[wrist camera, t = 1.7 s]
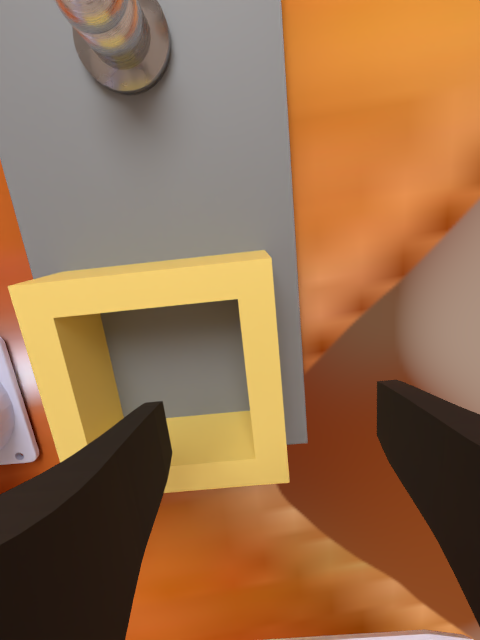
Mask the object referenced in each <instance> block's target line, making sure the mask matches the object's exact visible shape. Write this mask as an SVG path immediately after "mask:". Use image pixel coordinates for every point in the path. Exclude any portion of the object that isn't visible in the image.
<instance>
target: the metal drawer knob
mask: <svg viewBox="0 0 480 640" xmlns="http://www.w3.org/2000/svg"><path fill="white" fill-rule="evenodd" d="M55 2H56V4H57V6H58V8H59V10H60V11H61V13H62V14H63V16H64V17H65V18H66V19H67V21H68V22H69V23H70V24H71V25H72V31H73V40H74V44H75V48H76V51H77V53H78V56H79V58H80V60H81V62H82V63H83V65H84V66H85V68H86V69H87V70H88V72H89V73H90V74H91V75H92V76H93V77H94V78H95V79H96V80H97V81H98V82H99V83H100V84H101V85H103V86H104V87H105V88H107V89H109V90H111V91H113V92H115V93H118V94H122V95H137V94H141V93H143V92H146V91H148V90H149V89H151V88H152V87H154V86H155V85H156V84H157V83H158V82H159V81H160V79H161V78H162V77H163V75H164V73H165V71H166V69H167V67H168V64H169V60H170V56H171V35H170V30H169V27H168V23H167V21H166V18H165V15H164V13H163V11H162V8H161V6H160V4H159V3H158V1H157V0H55Z"/></svg>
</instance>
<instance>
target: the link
mask: <svg viewBox="0 0 480 640" xmlns="http://www.w3.org/2000/svg"><path fill="white" fill-rule="evenodd" d="M8 289H9V292H10V296H11V299H12V302H13V306H14V309H15V313H16V316H17V319H18V323H19V326H20V329H21V333H22V336H23V339H24V343H25V346H26V349H27V353H28V356H29V359H30V363H31V366H32V369H33V373H34V376H35V379H36V383H37V386H38V389H39V393H40V396H41V400H42V403H43V406H44V410H45V413H46V416H47V420H48V423H49V426H50V430H51V433H52V436H53V440H54V443H55V446H56V450H57V453H58V456H59V460H60V462H62V461H64V460H65V459H67V458H69V457H70V456H72V455H73V454H75V453H76V452H78V451H79V450H81V449H82V448H84V447H85V446H86V445H88V444H89V443H91V442H92V441H93V440H95V439H96V438H98V437H99V436H101V435H102V434H103V433H105V432H106V431H107V430H109V429H110V428H111V427H113V426H114V425H115V424H117V423H118V422H119V421H120V420H122V419H123V418H124V416H123V412H122V407H121V403H120V399H119V394H118V390H117V386H116V381H115V377H114V372H113V368H112V364H111V359H110V355H109V350H108V346H107V342H106V337H105V333H104V329H103V324H102V320H101V315H100V313H107V312H117V311H126V310H136V309H146V308H155V307H165V306H175V305H184V304H194V303H204V302H213V301H223V300H233V299H238V305H239V314H240V323H241V332H242V341H243V351H244V360H245V369H246V378H247V387H248V396H249V405H250V411H239V412H228V413H217V414H207V415H196V416H185V417H174V418H166V421H167V426H168V431H169V437H170V442H171V447H172V452H173V453H172V458H171V464H170V470H169V475H168V480H167V483H166V487H165V490H164V493H169V492H181V491H193V490H205V489H217V488H229V487H241V486H253V485H266V484H278V483H289V470H288V457H287V444H286V432H285V420H284V407H283V395H282V382H281V370H280V357H279V345H278V332H277V320H276V307H275V295H274V282H273V270H272V258H271V257H270V256H269V254H268V253H267V252H266V251H265V250H259V251H250V252H240V253H231V254H222V255H213V256H203V257H194V258H185V259H176V260H166V261H157V262H148V263H139V264H129V265H120V266H111V267H101V268H92V269H83V270H74V271H64V272H59V273H56V274H52V275H48V276H44V277H41V278H37V279H33V280H29V281H26V282H22V283H18V284H14V285H11V286H8Z"/></svg>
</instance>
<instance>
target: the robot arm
mask: <svg viewBox="0 0 480 640" xmlns="http://www.w3.org/2000/svg"><path fill="white" fill-rule="evenodd" d="M377 436H378V438H379V441H380V443H381V446H382V448H383V450H384V452H385V454H386V457H387V459H388V461H389V463H390V464H391V466H392V468H393V469H394V471H395V473H396V474H397V476H398V477H399V479H400V481H401V482H402V484H403V486H404V487H405V489H406V490H407V492H408V493H409V495H410V496H411V498H412V499H413V501H414V503H415V505H416V506H417V508H418V509H419V511H420V512H421V514H422V516H423V517H424V519H425V520H426V522H427V524H428V525H429V527H430V529H431V530H432V532H433V533H434V535H435V537H436V539H437V541H438V542H439V544H440V546H441V548H442V550H443V552H444V554H445V556H446V558H447V560H448V562H449V564H450V566H451V568H452V570H453V572H454V574H455V576H456V578H457V580H458V582H459V584H460V586H461V588H462V590H463V593H464V595H465V597H466V599H467V601H468V603H469V605H470V607H471V609H472V611H473V613H474V615H475V618H476V620H477V622H478V624H479V626H480V415H479V414H477V413H474V412H472V411H469V410H467V409H464V408H462V407H459V406H457V405H455V404H452V403H450V402H448V401H445V400H443V399H441V398H438V397H436V396H434V395H432V394H430V393H427V392H425V391H423V390H421V389H418V388H416V387H414V386H411V385H409V384H406V383H404V382H401V381H398V380H388V381H378V382H377ZM20 453H21V454H23V456H22V455H21V454H20ZM172 453H173V452H172V447H171V442H170V437H169V431H168V426H167V421H166V415H165V410H164V405H163V401H157V402H146V403H144V404H142V405H140V406H139V407H138V408H136V409H135V410H134V411H132V412H131V413H130V414H128V415H127V416H126V417H124V418H123V419H122V420H120V421H119V422H118V423H117V424H115V425H114V426H113V427H111V428H110V429H109V430H107V431H106V432H105V433H103V434H102V435H101V436H99V437H98V438H96V439H95V440H93V441H92V442H91V443H89V444H88V445H86V446H85V447H84V448H82V449H81V450H79V451H78V452H76V453H75V454H73V455H72V456H70V457H69V458H67V459H65V460H64V461H62V462H60V463H59V464H57V465H55V466H54V467H52V468H50V469H49V470H47V471H45V472H43V473H42V474H40V475H38V476H36V477H34V478H32V479H30V480H28V481H26V482H24V483H22V484H20V485H18V486H16V487H14V488H12V489H10V490H8V491H7V492H5V493H2V494H0V640H125V637H126V632H127V627H128V623H129V618H130V613H131V608H132V603H133V598H134V594H135V589H136V585H137V580H138V576H139V571H140V567H141V563H142V559H143V556H144V552H145V548H146V545H147V542H148V539H149V536H150V533H151V530H152V527H153V524H154V521H155V518H156V515H157V512H158V509H159V506H160V502H161V499H162V496H163V493H164V490H165V487H166V483H167V480H168V475H169V470H170V464H171V458H172ZM38 456H39V449H38V446H37V443H36V440H35V436H34V433H33V430H32V427H31V424H30V421H29V417H28V414H27V411H26V408H25V405H24V402H23V398H22V395H21V392H20V389H19V386H18V383H17V379H16V376H15V373H14V370H13V367H12V364H11V360H10V357H9V354H8V351H7V348H6V345H5V342H4V340H3V339H2V338H1V337H0V465H5V464H17V463H28V462H33V461H34V460H36V459H37V457H38ZM266 640H474V639H471V638H469V637H467V636H465V635H461V634H454V633H446V632H438V631H430V630H412V631H396V632H380V633H364V634H348V635H331V636H315V637H299V638H283V639H266Z"/></svg>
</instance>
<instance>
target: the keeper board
mask: <svg viewBox="0 0 480 640" xmlns="http://www.w3.org/2000/svg"><path fill="white" fill-rule="evenodd" d="M157 1H158V3H159V4H160V6H161V8H162V11H163V13H164V15H165V18H166V21H167V23H168V27H169V30H170V35H171V56H170V60H169V64H168V67H167V69H166V71H165V73H164V75H163V77H162V78H161V79H160V81H159V82H158V83H157V84H156V85H155V86H154V87H152V88H151V89H149V90H148V91H146V92H143V93H141V94H137V95H122V94H118V93H115V92H113V91H111V90H109V89H107V88H105V87H104V86H103V85H101V84H100V83H99V82H98V81H97V80H96V79H95V78H94V77H93V76H92V75H91V74H90V73H89V72H88V70H87V69H86V68H85V66H84V65H83V63H82V62H81V60H80V58H79V56H78V53H77V51H76V48H75V44H74V40H73V31H72V25H71V24H70V23H69V22H68V21H67V19H66V18H65V17H64V16H63V14H62V13H61V11H60V10H59V8H58V6H57V4H56V2H55V0H0V159H1V163H2V167H3V170H4V174H5V177H6V181H7V185H8V188H9V192H10V196H11V199H12V203H13V206H14V210H15V214H16V217H17V221H18V225H19V228H20V232H21V235H22V239H23V243H24V246H25V250H26V254H27V257H28V261H29V264H30V268H31V272H32V275H33V279H37V278H41V277H44V276H48V275H52V274H56V273H59V272H64V271H74V270H83V269H92V268H101V267H111V266H120V265H129V264H139V263H148V262H157V261H166V260H176V259H185V258H194V257H203V256H213V255H222V254H231V253H240V252H250V251H259V250H265V251H266V252H267V253H268V254H269V256H270V257H271V258H272V270H273V282H274V295H275V307H276V320H277V332H278V345H279V357H280V370H281V382H282V395H283V407H284V420H285V432H286V444H287V445H290V444H300V443H308V441H307V426H306V425H307V424H306V408H305V391H304V375H303V358H302V341H301V325H300V308H299V292H298V275H297V258H296V242H295V225H294V209H293V192H292V175H291V159H290V142H289V126H288V109H287V92H286V76H285V59H284V43H283V26H282V9H281V0H157ZM100 315H101V320H102V324H103V329H104V333H105V337H106V342H107V346H108V350H109V355H110V359H111V364H112V368H113V372H114V377H115V381H116V386H117V390H118V394H119V399H120V403H121V407H122V412H123V416H124V417H126V416H127V415H128V414H130V413H131V412H132V411H134V410H135V409H136V408H138V407H139V406H140V405H142V404H144V403H146V402H157V401H163V405H164V410H165V415H166V418H174V417H185V416H196V415H207V414H217V413H228V412H239V411H250V405H249V396H248V387H247V378H246V369H245V360H244V351H243V341H242V332H241V323H240V314H239V305H238V299H233V300H223V301H213V302H204V303H194V304H184V305H175V306H165V307H155V308H146V309H136V310H126V311H117V312H107V313H100Z"/></svg>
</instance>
